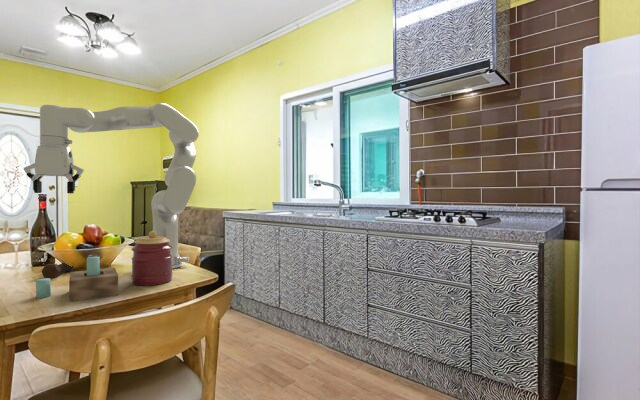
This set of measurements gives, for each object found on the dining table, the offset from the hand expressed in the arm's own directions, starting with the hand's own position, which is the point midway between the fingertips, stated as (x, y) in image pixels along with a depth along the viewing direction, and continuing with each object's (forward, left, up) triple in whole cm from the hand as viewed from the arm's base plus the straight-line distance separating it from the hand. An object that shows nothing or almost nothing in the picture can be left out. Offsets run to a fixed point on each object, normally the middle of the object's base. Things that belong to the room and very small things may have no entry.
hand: (54, 193), depth 119 cm
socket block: (-18, +17, -30) cm, 39 cm away
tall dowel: (-18, +17, -30) cm, 39 cm away
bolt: (+3, -12, -31) cm, 33 cm away
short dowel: (-5, +18, -30) cm, 36 cm away
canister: (-32, +5, -31) cm, 44 cm away
